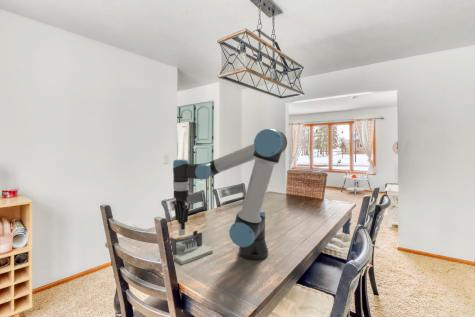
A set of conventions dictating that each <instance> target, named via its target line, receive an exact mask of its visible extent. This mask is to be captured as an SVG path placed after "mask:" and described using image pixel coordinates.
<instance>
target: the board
mask: <svg viewBox="0 0 475 317" xmlns="http://www.w3.org/2000/svg"><path fill="white" fill-rule="evenodd" d="M192 240H193V239H192ZM176 245H177V242H176ZM213 253H214V250H213V249H212V248H210V247H208V246H206V245H204V244H202V245H201V246H199V247H198V249H196V250H193V251H190V252H187V253H183V252H181V251H180V250H178V249H176V255H174V254H173V257H174V258H173V259H174V260H176V262H178V263H180V265H185V264H186V263H187V264H188V263H190V262H192V261H195V260H197V259H199V258H200V259H201V258H202V257H205V256H208V255H210V254H211V255H212V254H213Z"/></svg>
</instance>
